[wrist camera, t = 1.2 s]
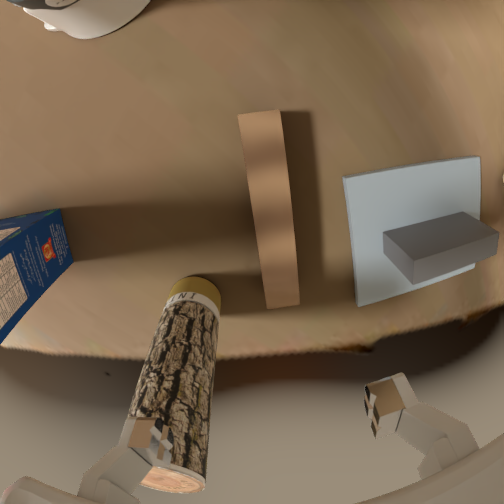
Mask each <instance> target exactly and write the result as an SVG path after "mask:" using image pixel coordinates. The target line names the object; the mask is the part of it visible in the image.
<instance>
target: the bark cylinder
mask: <svg viewBox="0 0 504 504" xmlns="http://www.w3.org/2000/svg"><path fill="white" fill-rule="evenodd" d="M220 309H221V296H220V293H219V291H218V289H217V288H216V287H215V285H213V284H212V283H211V282H210V281H208V280H206V279H203V278H200V277H186V278H183V279H181V280H179V281H178V282H177V283H176V284H175V285H174V286H173V288H172V290H171V292H170V295H169V297H168V300H167V303H166V305H165V307H164V310H163V313H162V315H161V318H160V321H159V323H158V326H157V329H156V332H155V334H154V337H153V340H152V343H151V346H150V348H149V351H148V354H147V357H146V360H145V363H144V366H143V369H142V372H141V375H140V378H139V381H138V384H137V387H136V390H135V393H134V397H133V400H132V403H131V406H130V409H129V413H128V416H127V418H128V417H161V418H162V420H163V421H164V425H166V426H168V427H169V428H170V429H171V430H172V432H173V435H174V445H173V447H172V448H171V449H170V450H169V451H170V452H171V454H172V457H171V462H170V467H156V466H152V467H153V468H152V469H151V470H150V471H149V473H148V474H147V475H146V477H145V478H144V479H143V480H142V481H141V483H140V485H143V486H146V487H150V488H153V489H157V490H162V491H167V492H174V493H195V492H199V491H202V490H203V489H204V488H205V482H206V469H207V454H208V440H209V427H210V415H211V402H212V392H213V380H214V370H215V359H216V349H217V339H218V329H219V320H220Z"/></svg>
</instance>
